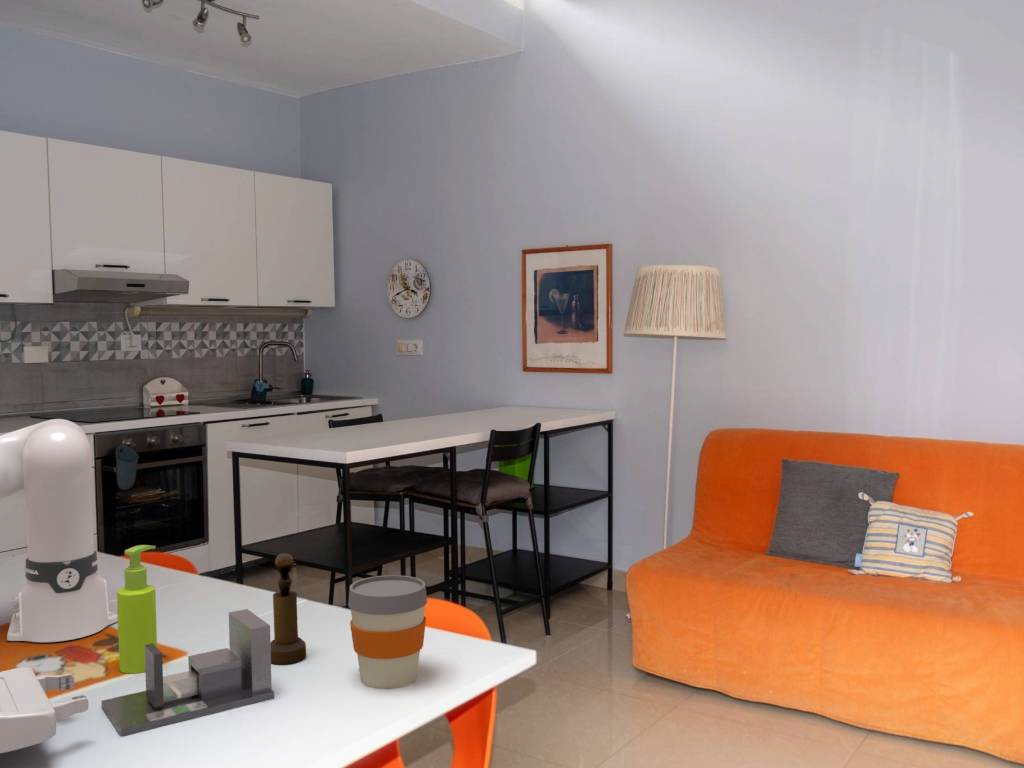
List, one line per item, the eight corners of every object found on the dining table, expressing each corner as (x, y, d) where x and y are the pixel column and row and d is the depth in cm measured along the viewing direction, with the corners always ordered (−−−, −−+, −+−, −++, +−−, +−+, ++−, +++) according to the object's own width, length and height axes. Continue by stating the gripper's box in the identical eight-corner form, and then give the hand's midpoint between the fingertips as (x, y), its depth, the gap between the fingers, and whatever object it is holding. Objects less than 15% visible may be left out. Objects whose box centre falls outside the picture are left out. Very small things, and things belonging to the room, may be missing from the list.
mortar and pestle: (270, 651, 160) (268, 549, 159) (308, 650, 161) (306, 548, 160) (263, 665, 154) (261, 559, 152) (303, 664, 154) (300, 558, 153)
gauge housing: (101, 707, 137) (99, 634, 137) (246, 673, 150) (245, 607, 149) (120, 736, 128) (118, 658, 127) (274, 698, 140) (272, 627, 140)
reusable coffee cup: (394, 699, 140) (393, 601, 139) (332, 682, 146) (331, 589, 145) (443, 672, 150) (442, 581, 149) (384, 657, 157) (382, 571, 156)
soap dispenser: (169, 660, 156) (165, 544, 155) (140, 675, 150) (136, 553, 148) (141, 656, 158) (137, 541, 157) (111, 671, 152) (107, 551, 150)
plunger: (146, 697, 138) (144, 644, 137) (221, 680, 144) (219, 630, 144) (161, 716, 131) (159, 661, 130) (238, 697, 138) (237, 644, 137)
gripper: (-41, 712, 130) (66, 689, 138) (-25, 769, 113) (96, 739, 121) (-43, 668, 129) (65, 647, 138) (-27, 719, 113) (95, 692, 121)
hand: (80, 691), depth 129 cm, fingers open, 8 cm apart
